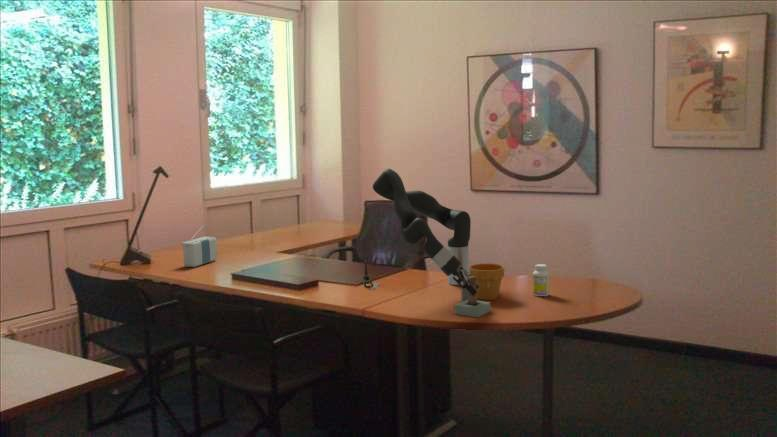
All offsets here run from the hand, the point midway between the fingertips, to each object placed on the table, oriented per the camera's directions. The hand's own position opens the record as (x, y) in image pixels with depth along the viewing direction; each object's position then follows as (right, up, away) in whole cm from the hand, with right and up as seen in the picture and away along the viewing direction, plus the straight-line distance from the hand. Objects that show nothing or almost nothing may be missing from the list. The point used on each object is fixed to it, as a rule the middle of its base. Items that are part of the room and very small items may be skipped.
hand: (476, 291), depth 287 cm
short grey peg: (-3, -7, +13) cm, 15 cm away
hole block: (-1, -8, +2) cm, 9 cm away
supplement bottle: (+30, -4, +26) cm, 40 cm away
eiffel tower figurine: (-43, -3, +51) cm, 67 cm away
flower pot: (+7, -5, +25) cm, 26 cm away
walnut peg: (-1, -8, +2) cm, 9 cm away
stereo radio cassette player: (-134, +3, +111) cm, 174 cm away
